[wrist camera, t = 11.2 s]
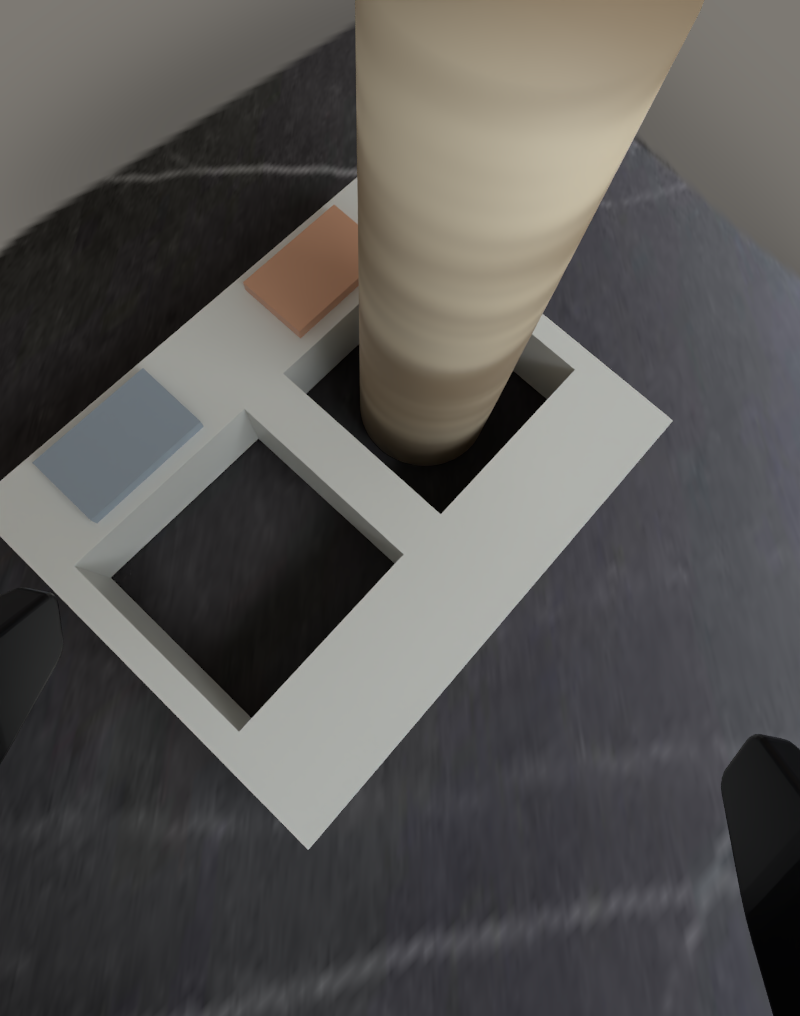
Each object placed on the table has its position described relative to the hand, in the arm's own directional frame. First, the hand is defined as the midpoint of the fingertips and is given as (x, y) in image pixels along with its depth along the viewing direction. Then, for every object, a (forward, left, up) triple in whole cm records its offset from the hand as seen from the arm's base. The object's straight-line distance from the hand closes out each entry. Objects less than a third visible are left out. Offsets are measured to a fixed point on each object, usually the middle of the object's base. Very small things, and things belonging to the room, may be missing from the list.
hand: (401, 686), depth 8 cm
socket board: (+4, +5, -11) cm, 13 cm away
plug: (+8, +5, -11) cm, 14 cm away
